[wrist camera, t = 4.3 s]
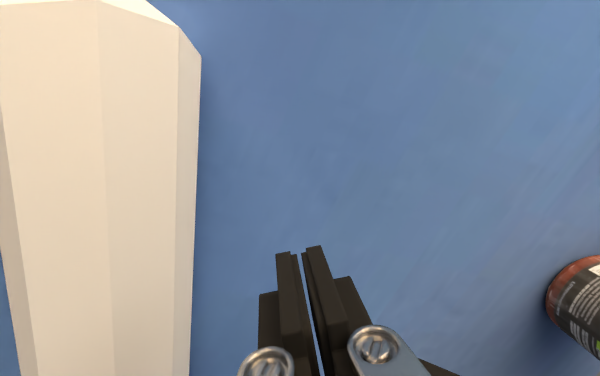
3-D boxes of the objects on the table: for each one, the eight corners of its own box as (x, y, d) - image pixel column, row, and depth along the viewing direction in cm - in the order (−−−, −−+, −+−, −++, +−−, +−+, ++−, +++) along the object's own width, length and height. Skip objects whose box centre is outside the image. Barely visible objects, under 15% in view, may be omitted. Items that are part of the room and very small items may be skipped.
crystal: (208, 471, 17) (242, -15, 11) (43, 575, 13) (-84, -129, 6) (171, 371, 23) (177, 10, 16) (46, 422, 19) (-18, -41, 12)
